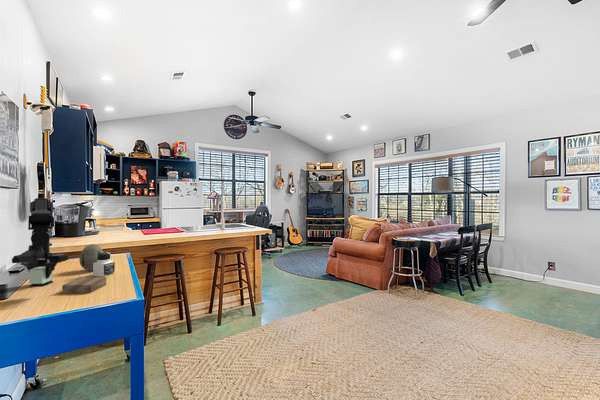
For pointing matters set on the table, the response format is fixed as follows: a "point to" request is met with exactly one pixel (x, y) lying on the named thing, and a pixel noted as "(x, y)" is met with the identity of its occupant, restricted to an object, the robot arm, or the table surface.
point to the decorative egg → (89, 256)
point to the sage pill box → (38, 275)
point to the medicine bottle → (103, 265)
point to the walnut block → (84, 285)
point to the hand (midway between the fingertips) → (40, 278)
